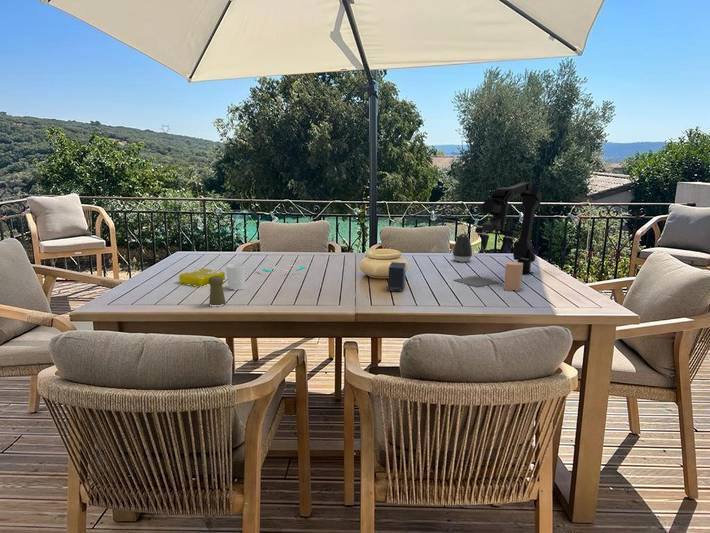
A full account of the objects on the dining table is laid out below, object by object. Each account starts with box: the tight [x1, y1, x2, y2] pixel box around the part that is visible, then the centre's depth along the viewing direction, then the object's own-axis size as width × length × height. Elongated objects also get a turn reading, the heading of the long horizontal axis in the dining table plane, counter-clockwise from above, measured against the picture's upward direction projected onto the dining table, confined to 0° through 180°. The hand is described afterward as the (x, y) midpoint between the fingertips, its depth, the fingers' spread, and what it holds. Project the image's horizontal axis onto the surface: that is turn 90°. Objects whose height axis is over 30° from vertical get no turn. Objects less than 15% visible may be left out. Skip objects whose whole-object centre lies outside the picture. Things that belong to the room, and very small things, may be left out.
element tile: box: [178, 268, 226, 286], centre depth 209 cm, size 15×15×5 cm
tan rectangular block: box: [503, 261, 523, 292], centre depth 196 cm, size 6×6×11 cm
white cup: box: [225, 263, 246, 289], centre depth 196 cm, size 8×8×10 cm
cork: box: [208, 276, 227, 305], centre depth 173 cm, size 6×6×11 cm
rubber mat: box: [452, 275, 500, 288], centre depth 209 cm, size 14×14×1 cm
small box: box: [387, 261, 407, 293], centre depth 196 cm, size 11×6×10 cm, turn 168°
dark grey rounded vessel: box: [452, 233, 473, 263], centre depth 251 cm, size 10×10×15 cm
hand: (493, 251), depth 206 cm, fingers open, 9 cm apart
